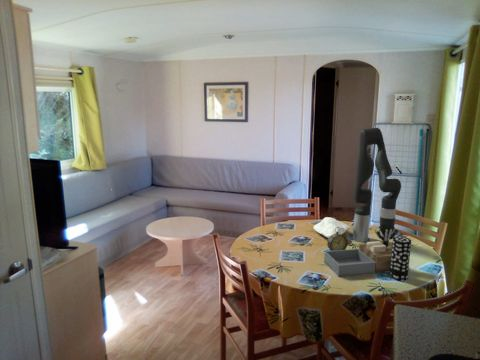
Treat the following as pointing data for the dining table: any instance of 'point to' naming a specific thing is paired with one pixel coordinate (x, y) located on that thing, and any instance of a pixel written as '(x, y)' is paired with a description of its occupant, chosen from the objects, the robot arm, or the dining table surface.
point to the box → (349, 262)
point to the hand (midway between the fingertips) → (385, 246)
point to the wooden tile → (376, 246)
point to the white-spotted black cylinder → (400, 258)
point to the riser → (378, 258)
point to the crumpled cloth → (330, 227)
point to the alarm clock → (337, 242)
